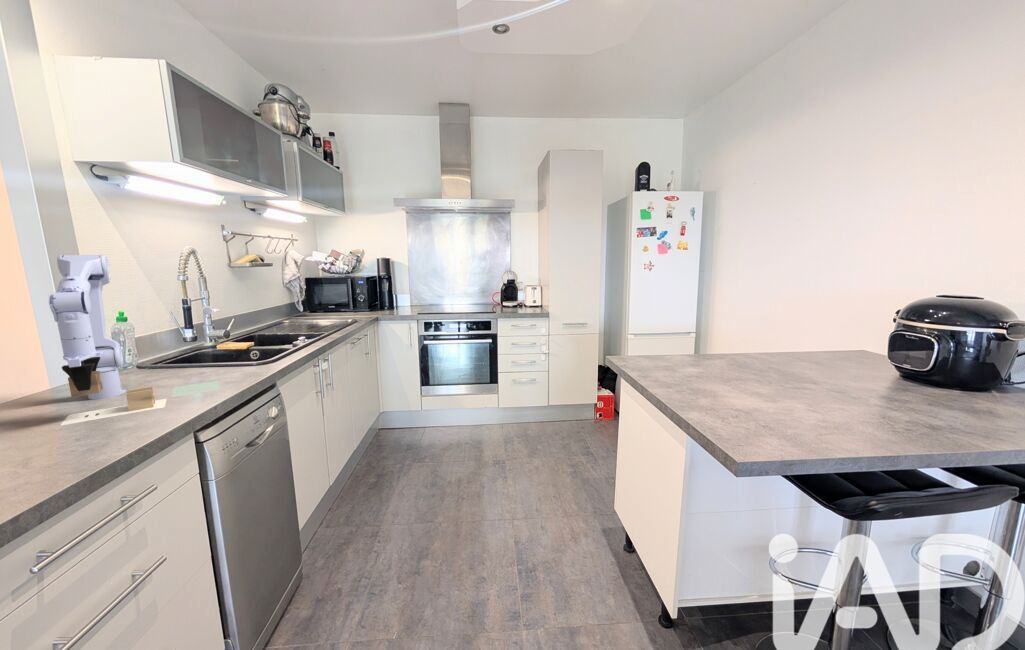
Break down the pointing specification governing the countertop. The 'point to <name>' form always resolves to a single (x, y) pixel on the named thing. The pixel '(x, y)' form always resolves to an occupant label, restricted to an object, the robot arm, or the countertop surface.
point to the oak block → (140, 398)
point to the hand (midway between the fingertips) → (86, 387)
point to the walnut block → (95, 385)
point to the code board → (107, 413)
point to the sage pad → (195, 388)
